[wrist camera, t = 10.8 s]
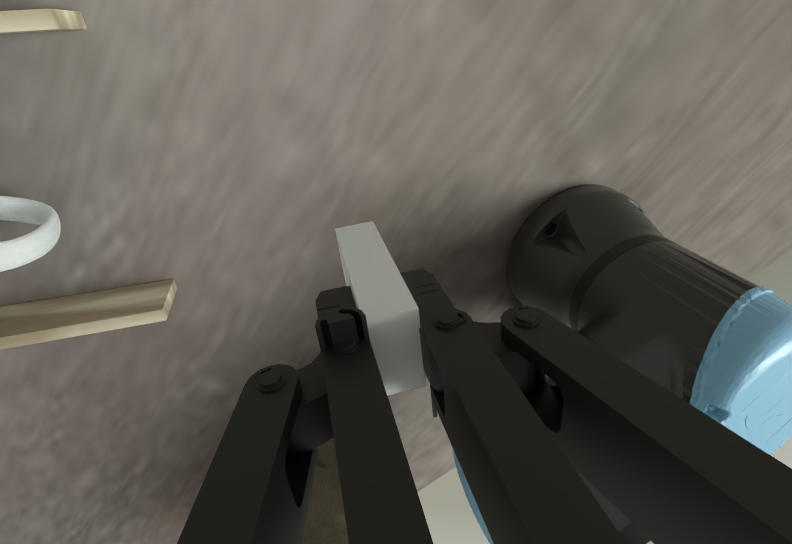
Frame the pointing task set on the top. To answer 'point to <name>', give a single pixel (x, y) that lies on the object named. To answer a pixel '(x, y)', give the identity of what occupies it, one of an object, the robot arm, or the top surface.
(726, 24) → the top surface
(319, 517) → the cantaloupe
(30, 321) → the corral
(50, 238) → the mug
